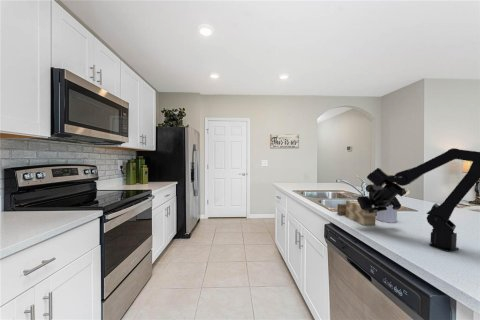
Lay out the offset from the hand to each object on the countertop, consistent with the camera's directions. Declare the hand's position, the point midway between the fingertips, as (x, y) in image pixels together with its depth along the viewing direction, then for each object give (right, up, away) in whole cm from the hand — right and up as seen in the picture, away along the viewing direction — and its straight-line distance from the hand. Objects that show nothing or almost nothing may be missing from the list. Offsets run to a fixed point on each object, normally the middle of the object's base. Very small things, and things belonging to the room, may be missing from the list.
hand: (369, 212), depth 112 cm
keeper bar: (-1, -6, +8) cm, 11 cm away
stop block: (-2, -6, +20) cm, 21 cm away
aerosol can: (+16, -7, +22) cm, 29 cm away
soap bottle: (+14, -7, +10) cm, 19 cm away
